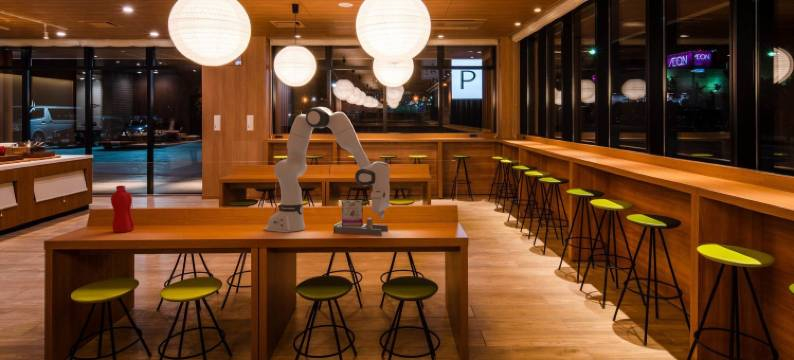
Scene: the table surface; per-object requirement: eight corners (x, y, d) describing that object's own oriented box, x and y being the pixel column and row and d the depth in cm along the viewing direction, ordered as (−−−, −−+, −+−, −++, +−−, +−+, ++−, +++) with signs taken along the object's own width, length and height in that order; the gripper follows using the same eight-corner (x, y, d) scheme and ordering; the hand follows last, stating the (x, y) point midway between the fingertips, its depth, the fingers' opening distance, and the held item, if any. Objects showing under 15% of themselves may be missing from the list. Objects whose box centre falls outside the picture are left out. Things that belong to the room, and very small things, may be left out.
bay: (333, 232, 282) (333, 225, 281) (341, 228, 293) (341, 221, 293) (381, 235, 275) (381, 227, 274) (387, 230, 286) (387, 223, 286)
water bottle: (127, 233, 282) (124, 187, 279) (109, 232, 284) (106, 186, 281) (139, 229, 291) (136, 184, 288) (122, 229, 293) (119, 184, 290)
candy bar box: (361, 230, 289) (362, 200, 288) (362, 231, 284) (363, 201, 283) (341, 230, 287) (341, 200, 286) (341, 231, 282) (342, 200, 281)
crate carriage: (336, 231, 283) (336, 218, 282) (342, 228, 291) (342, 215, 291) (368, 233, 278) (368, 220, 277) (373, 230, 286) (373, 217, 286)
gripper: (381, 189, 289) (381, 214, 291) (369, 194, 270) (369, 221, 271) (392, 190, 288) (392, 215, 289) (381, 195, 268) (380, 222, 270)
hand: (380, 218), depth 280 cm, fingers closed
